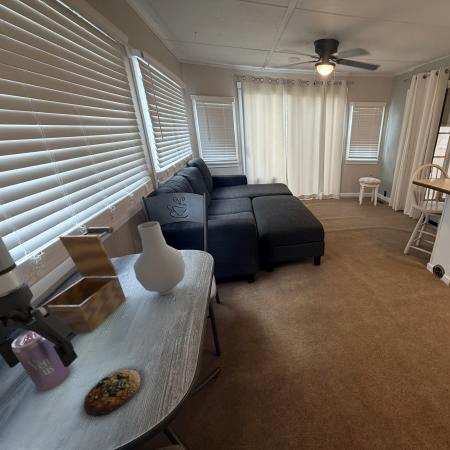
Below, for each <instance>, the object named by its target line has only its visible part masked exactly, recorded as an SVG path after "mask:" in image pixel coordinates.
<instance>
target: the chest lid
mask: <svg viewBox="0 0 450 450" xmlns="http://www.w3.org/2000/svg"><path fill="white" fill-rule="evenodd" d="M114 232H115V228H114V227H112V226H92V227H87V228H86V231H85V232H84V233H82V234H80V235H59V236H58V238H59V240H60V242H61V243H62V245H63V246H64V248H65V250H66V252H67V254H68V255H69V257H70V259H71V260H72V262H73V263H74V266H75V267H76V269H77V271H78V272H79V273H80V275H81V277H82V278H83V277H98V276H105V277H118V275H119V274H118V272H117V270H116V268H115V266H114V264H113V262H112V260H111V258H110V256H109V254H108V252H107V249H106V248H105V246H104V244H103V242H102V240H101V239H102V238H103V237H105V236H106V235H109V234H110V235H112V234H113V233H114Z"/></svg>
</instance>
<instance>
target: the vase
mask: <svg viewBox="0 0 450 450" xmlns="http://www.w3.org/2000/svg"><path fill="white" fill-rule="evenodd" d="M137 230H138V233H139V236H140V239H141V246H142V247H141V248H142V252H141V253H140V255H139V256H138V257H137V259H136V260H135V262H134V263H133V270H134V274H135V279H136V280H137V281H138V282H139V284H140V285H141V286H142V287H143V289H145V291H147V292H152V293H154V292H157V293H158V294H159V295H160V296H167V295H170V294H172V293H174V292H175V291H176V290H177V285H179V284H180V283H181V282H182V281H183V280H184V277H185V273H186V263H185V260H184V257H183V254H182V251H180V250H178V249H177V248H174V247H172V246H171V245H168V244H167V242H166V240H165V237H164V235H163V232H162V228H161V224H160V222H158V221H147V222H144V223H141V224H139V225H138V226H137Z"/></svg>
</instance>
